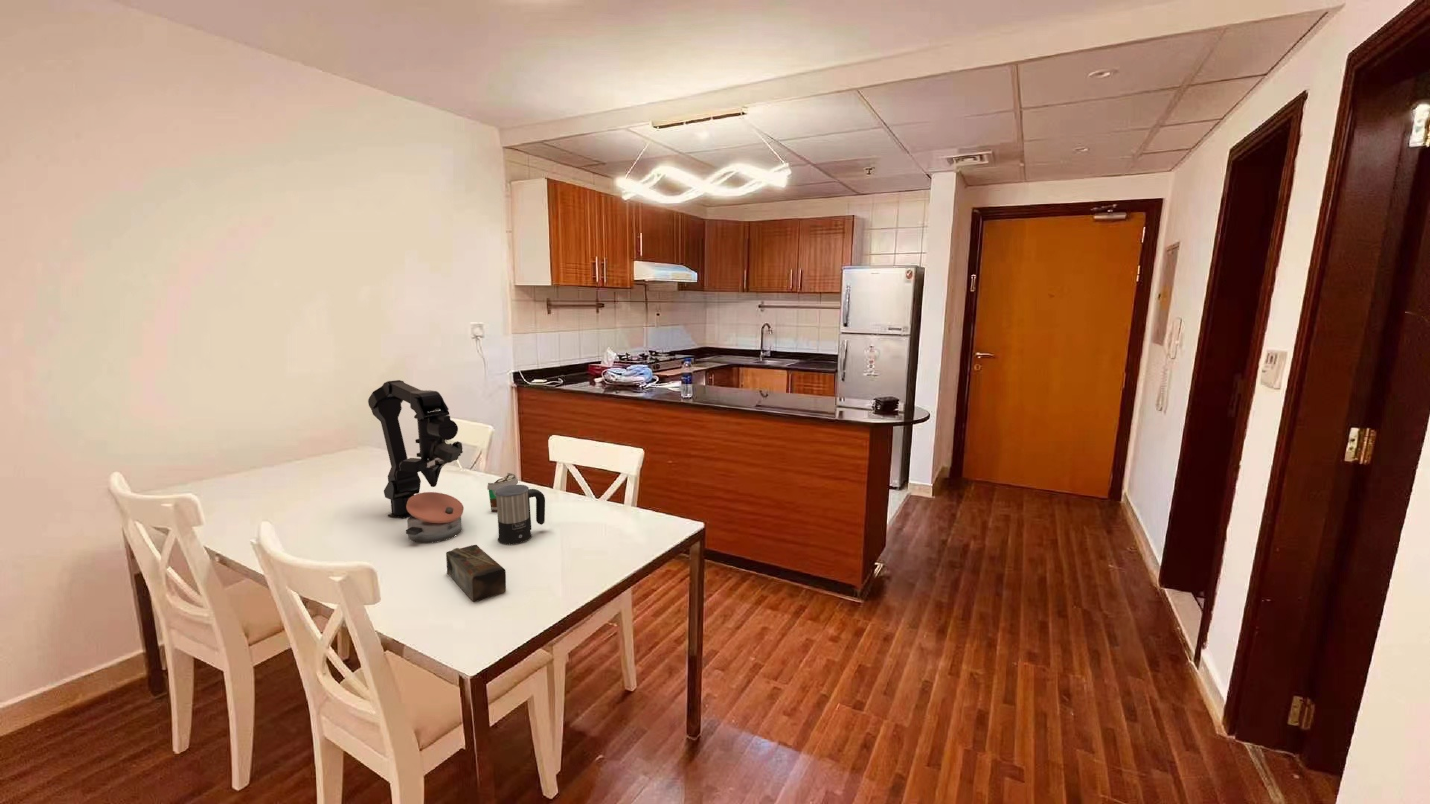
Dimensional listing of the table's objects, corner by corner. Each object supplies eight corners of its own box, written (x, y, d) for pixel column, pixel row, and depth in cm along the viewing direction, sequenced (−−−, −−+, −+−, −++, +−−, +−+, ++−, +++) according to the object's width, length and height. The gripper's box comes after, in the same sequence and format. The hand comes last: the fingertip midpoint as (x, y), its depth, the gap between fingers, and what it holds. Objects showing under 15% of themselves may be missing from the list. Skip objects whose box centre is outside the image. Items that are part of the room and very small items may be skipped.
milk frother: (511, 548, 156) (508, 497, 154) (475, 535, 165) (472, 486, 162) (551, 531, 168) (549, 483, 166) (516, 520, 177) (514, 474, 174)
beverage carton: (478, 564, 147) (477, 540, 146) (508, 593, 133) (507, 567, 132) (446, 573, 142) (444, 549, 141) (473, 604, 128) (471, 577, 127)
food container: (506, 515, 180) (504, 485, 179) (488, 513, 181) (486, 483, 180) (526, 502, 192) (525, 473, 190) (509, 500, 193) (508, 472, 192)
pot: (390, 543, 158) (388, 526, 157) (437, 518, 176) (436, 503, 175) (433, 549, 155) (432, 531, 154) (477, 523, 173) (476, 508, 172)
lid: (393, 506, 158) (395, 500, 158) (432, 489, 173) (433, 484, 172) (438, 529, 156) (440, 523, 155) (473, 510, 170) (475, 504, 170)
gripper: (430, 444, 153) (435, 499, 156) (474, 429, 171) (477, 479, 174) (395, 441, 156) (400, 496, 158) (442, 427, 174) (446, 476, 176)
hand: (433, 486), depth 167 cm, fingers closed
